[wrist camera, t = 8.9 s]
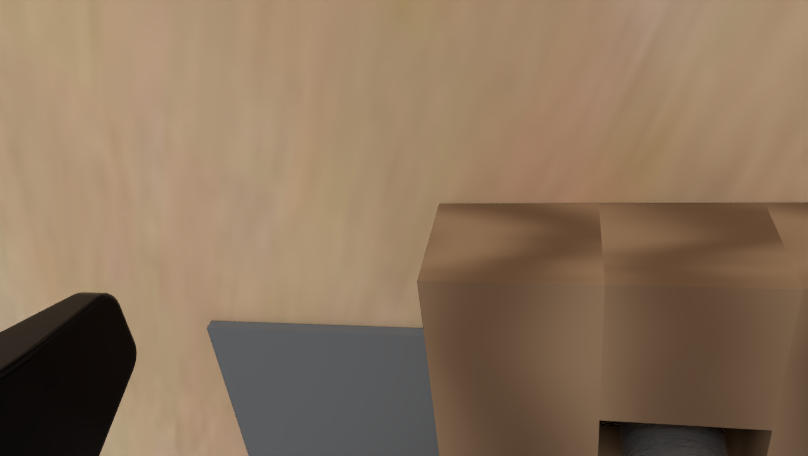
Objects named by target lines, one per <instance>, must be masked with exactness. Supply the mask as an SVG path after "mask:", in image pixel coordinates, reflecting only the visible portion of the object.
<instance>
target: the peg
mask: <svg viewBox="0 0 808 456" xmlns="http://www.w3.org/2000/svg"><path fill="white" fill-rule="evenodd" d="M619 427H620V439H621V451H622V456H728V453H727V449H726V445H725V440H724V436H723V432H722V428H721V427H704V426H687V425H670V424H653V423H637V422H620V421H619Z"/></svg>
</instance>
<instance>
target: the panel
mask: <svg viewBox="0 0 808 456" xmlns="http://www.w3.org/2000/svg"><path fill="white" fill-rule="evenodd" d="M207 330H208V333H209V336H210V339H211V342H212V345H213V348H214V351H215V354H216V357H217V360H218V363H219V366H220V369H221V372H222V375H223V378H224V382H225V385H226V388H227V391H228V394H229V397H230V400H231V403H232V406H233V409H234V412H235V415H236V418H237V421H238V424H239V427H240V430H241V433H242V436H243V439H244V442H245V445H246V449H247V452H248V455H249V456H439V449H438V441H437V433H436V425H435V417H434V410H433V402H432V394H431V386H430V378H429V370H428V362H427V354H426V347H425V339H424V331H423V328H399V327H370V326H342V325H313V324H284V323H255V322H226V321H211V322H210V324H209V325H208V327H207Z"/></svg>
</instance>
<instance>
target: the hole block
mask: <svg viewBox="0 0 808 456" xmlns="http://www.w3.org/2000/svg"><path fill="white" fill-rule="evenodd" d="M417 284H418V291H419V299H420V307H421V315H422V323H423V331H424V339H425V347H426V354H427V362H428V370H429V378H430V386H431V394H432V402H433V410H434V417H435V425H436V433H437V441H438V449H439V456H622V451H621V439H620V427H617V426H600V425H599V420H603V421H620V422H637V423H653V424H670V425H687V426H704V427H721V428H726V433H723V436H724V440H725V445H726V449H727V453H728V456H808V203H561V204H439V207H438V210H437V214H436V217H435V221H434V224H433V228H432V231H431V235H430V238H429V242H428V245H427V249H426V252H425V256H424V259H423V263H422V266H421V270H420V273H419V277H418V280H417Z"/></svg>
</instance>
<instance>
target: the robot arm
mask: <svg viewBox="0 0 808 456" xmlns="http://www.w3.org/2000/svg"><path fill="white" fill-rule="evenodd" d="M135 362H136V345H135V342H134V340H133V337H132V335H131V332H130V330H129V327H128V325H127V322H126V320H125V317H124V315H123V312H122V310H121V307H120V305H119V303H118V301H117V300H116V299H115V297H114V296H112V295H110V294H108V293H87V292H84V293H77V294H74V295H72V296H70V297H68V298H66V299H64V300H62V301H60V302H58V303H56V304H54V305H53V306H51V307H49V308H47V309H45V310H43V311H41V312H39V313H37V314H35V315H33V316H31V317H29V318H27V319H25V320H23V321H21V322H19V323H17V324H16V325H14V326H12V327H10V328H8V329H6V330H4V331H2V332H0V456H99V455H100V452H101V450H102V447H103V445H104V442H105V440H106V437H107V435H108V432H109V429H110V427H111V424H112V422H113V419H114V417H115V414H116V412H117V409H118V407H119V404H120V402H121V399H122V397H123V394H124V392H125V389H126V387H127V384H128V381H129V379H130V376H131V374H132V371H133V369H134V366H135Z"/></svg>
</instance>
